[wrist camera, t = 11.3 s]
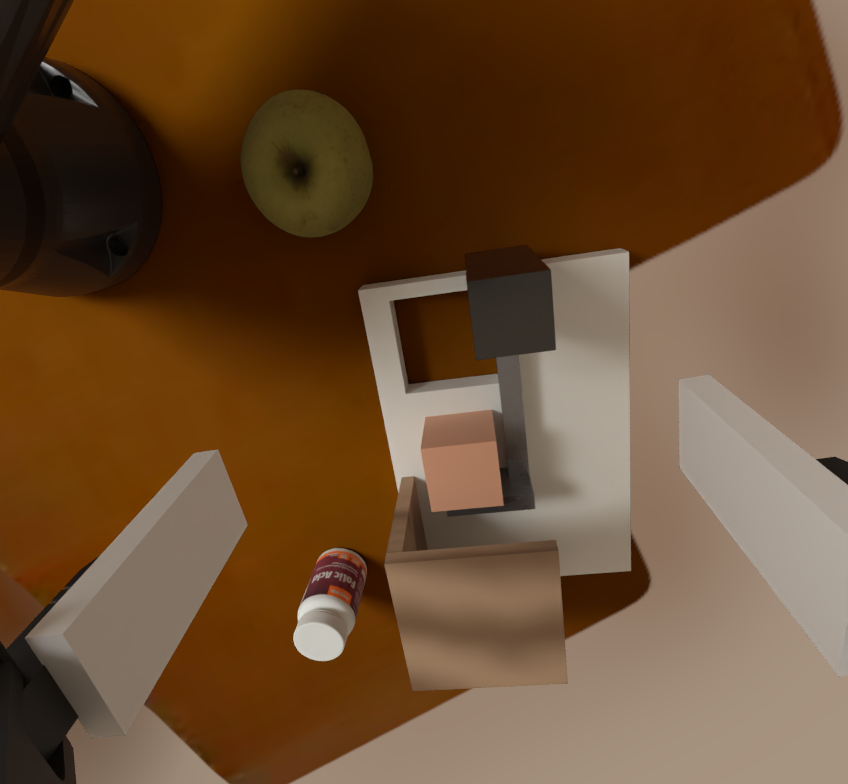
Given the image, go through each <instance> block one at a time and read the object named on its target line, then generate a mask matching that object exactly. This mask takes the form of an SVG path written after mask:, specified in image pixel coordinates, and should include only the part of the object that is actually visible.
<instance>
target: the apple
mask: <svg viewBox="0 0 848 784" xmlns="http://www.w3.org/2000/svg"><path fill="white" fill-rule="evenodd" d="M241 172H242V176H243V180H244V183H245V186H246V188H247V191H248V193H249V195H250V197H251V199H252V200H253V202H254V204H255V205H256V206H257V208H258V209H259V210H260V212H261V213H262V214H263V215H264V216H265V217H266V218H267V219H268V220H269V221H270V222H271V223H273V224H274V225H275V226H277V227H278V228H280V229H282V230H284V231H286V232H288V233H290V234H293V235H296V236H301V237H312V238H314V237H322V236H326V235H329V234H332V233H335V232H337V231H339V230H341V229H342V228H344V227H345V226H347V225H348V224H349V223H350V222H351V221H352V220H353V219H354V218H356V216H357V215H358V214H359V213H360V212H361V210H362V209H363V207H364V206H365V204H366V202H367V200H368V198H369V196H370V192H371V189H372V183H373V164H372V160H371V156H370V152H369V149H368V146H367V143H366V139H365V137H364V135H363V133H362V130H361V128H360V127H359V125H358V124H357V122H356V120H355V119H354V118H353V116H352V115H351V114H350V113H349V112H348V111H347V110H346V109H345V108H344V107H343V106H342V105H341V104H339V103H338V102H337V101H335V100H334V99H332V98H330V97H329V96H327V95H325V94H322V93H319V92H315V91H312V90H303V89H297V90H289V91H285V92H281V93H279V94H277V95H275V96H273V97H271V98H269V99H268V100H267V101H266V102H264V103H263V104H262V105H261V107H260V108H259V109H258V110H257V112H256V113H255V115H254V116H253V118H252V119H251V121H250V123H249V126H248V128H247V130H246V133H245V136H244V139H243V143H242V149H241Z"/></svg>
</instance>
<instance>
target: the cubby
mask: <svg viewBox="0 0 848 784" xmlns="http://www.w3.org/2000/svg"><path fill="white" fill-rule="evenodd" d="M384 565H385V570H386V574H387V579H388V583H389V587H390V592H391V596H392V601H393V605H394V610H395V614H396V618H397V623H398V627H399V632H400V636H401V641H402V645H403V649H404V654H405V658H406V663H407V667H408V671H409V676H410V680H411V685H412V689H413V691H422V690H443V689H465V688H486V687H505V686H528V685H549V684H567V683H568V679H567V665H566V652H565V651H566V650H565V636H564V621H563V607H562V593H561V578H560V564H559V550H558V547H557V543H556V540H546V541H534V542H521V543H509V544H496V545H484V546H471V547H459V548H446V549H434V550H428V548H427V543H426V538H425V532H424V527H423V521H422V516H421V511H420V505H419V500H418V494H417V489H416V484H415V478H414V476H411V477H402V478H401V483H400V488H399V493H398V498H397V503H396V508H395V513H394V518H393V523H392V528H391V533H390V538H389V543H388V548H387V553H386V558H385V563H384Z"/></svg>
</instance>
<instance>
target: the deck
mask: <svg viewBox="0 0 848 784" xmlns="http://www.w3.org/2000/svg"><path fill="white" fill-rule="evenodd" d="M541 260H542V261H543V262H544V263H545V264H546V265H547V266H548V267H549V268H550V269H551V278H552V293H553V309H554V325H555V340H556V350H553V351H545V352H537V353H529V354H521V355H519V365H520V376H521V386H522V397H523V408H524V419H525V430H526V441H527V452H528V462H529V473H530V479H531V483H532V488H533V492H534V499H535V509H530V510H519V511H508V512H496V513H485V514H474V515H463V516H452V517H448V516H447V511H438V512H432V511H431V506H430V500H429V495H428V489H427V483H426V478H425V472H424V466H423V461H422V455H421V442H422V435H423V429H424V422H425V417H429V416H438V415H447V414H456V413H465V412H474V411H483V410H492V412H493V420H494V427H495V435H496V443H497V451H498V460H499V468H506V467H508V465H507V456H506V447H505V438H504V429H503V420H502V410H501V401H500V392H499V383H498V374H490V375H482V376H473V377H465V378H456V379H448V380H440V381H431V382H423V383H414V384H408V380H407V374H406V368H405V363H404V357H403V351H402V346H401V340H400V334H399V328H398V323H397V317H396V311H395V306H394V300H400V299H407V298H414V297H421V296H428V295H435V294H443V293H450V292H457V291H464V290H467V282H466V270H465V271H458V272H451V273H444V274H437V275H430V276H423V277H416V278H409V279H402V280H395V281H388V282H381V283H374V284H367V285H363V286H362V287H361V288H360V289H359V290H358V293H359V298H360V303H361V308H362V313H363V318H364V323H365V328H366V333H367V338H368V343H369V348H370V353H371V358H372V363H373V368H374V373H375V378H376V383H377V388H378V393H379V398H380V403H381V408H382V413H383V418H384V423H385V428H386V433H387V438H388V443H389V448H390V453H391V458H392V463H393V468H394V473H395V478H396V483H397V488H398V493H399V488H400V483H401V478H402V477H411V476H414V478H415V484H416V489H417V494H418V500H419V505H420V511H421V516H422V521H423V527H424V532H425V538H426V543H427V548H428V550H434V549H446V548H459V547H471V546H484V545H496V544H509V543H521V542H534V541H546V540H556V543H557V547H558V550H559V564H560V576H568V575H582V574H596V573H610V572H623V571H631V503H630V502H631V501H630V499H631V494H630V492H631V489H630V341H629V340H630V333H629V331H630V328H629V327H630V325H629V252H628V251H626V250H624V249H621V248H617V249H610V250H603V251H596V252H590V253H583V254H576V255H569V256H562V257H555V258H548V259H541Z"/></svg>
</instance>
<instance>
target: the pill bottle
mask: <svg viewBox="0 0 848 784" xmlns="http://www.w3.org/2000/svg"><path fill="white" fill-rule="evenodd" d="M366 576H367V567H366V564H365V562H364V560H363V559H362V558H361V557H360V556H359V555H358V554H357V553H355V552H353V551H351V550H348V549H344V548H333V549H330V550H327V551H326V552H324V553H323V554H322V555H321V556H320V557H319V559H318V560H317V563H316V565H315V568H314V570H313V573H312V576H311V578H310V581H309V583H308V586H307V589H306V591H305V593H304V596H303V599H302V601H301V604H300V606H299V609H298V624H297V627H296V630H295V632H294V637H293V640H294V644H295V646H296V648H297V649H298V651H299V652H300V653H301V654H303V655H304V656H306V657H308V658H310V659H313V660H317V661H328V660H332V659H334V658H336V657H338V656H339V655H340V654H341V653H342V651H343V649H344V646H345V643H346V640H347V636H348V635H349V634H350V632H351V631H352V629H353V627H354V625H355V621H356V617H357V613H358V608H359V604H360V600H361V596H362V592H363V589H364V585H365V580H366Z"/></svg>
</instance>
